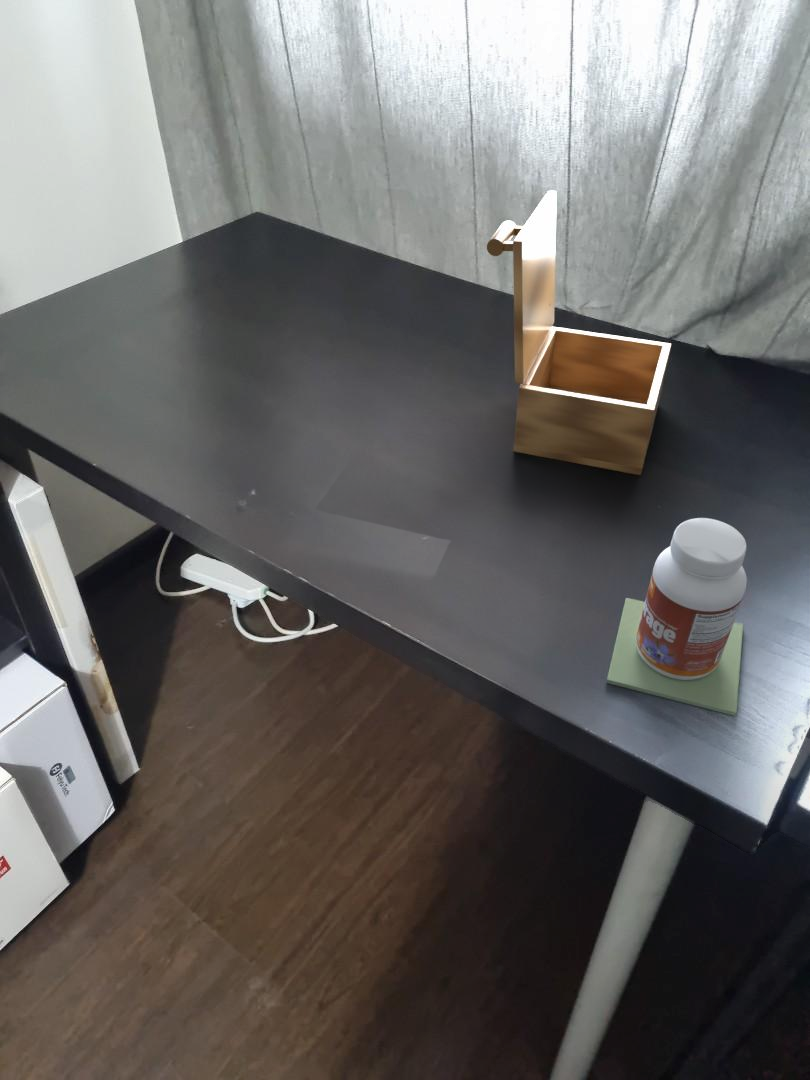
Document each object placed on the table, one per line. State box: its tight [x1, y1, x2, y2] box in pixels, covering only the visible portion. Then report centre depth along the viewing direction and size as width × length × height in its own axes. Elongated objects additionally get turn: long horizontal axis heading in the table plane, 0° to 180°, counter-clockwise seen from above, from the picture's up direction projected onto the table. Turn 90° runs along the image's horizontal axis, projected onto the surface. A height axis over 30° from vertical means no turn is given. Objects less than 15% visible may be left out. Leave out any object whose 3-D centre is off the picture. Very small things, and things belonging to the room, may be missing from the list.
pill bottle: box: [636, 517, 748, 680], centre depth 58 cm, size 6×6×11 cm
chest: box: [513, 326, 672, 476], centre depth 84 cm, size 13×14×7 cm
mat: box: [606, 597, 744, 717], centre depth 62 cm, size 9×9×1 cm
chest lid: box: [486, 190, 557, 384], centre depth 79 cm, size 13×14×4 cm
